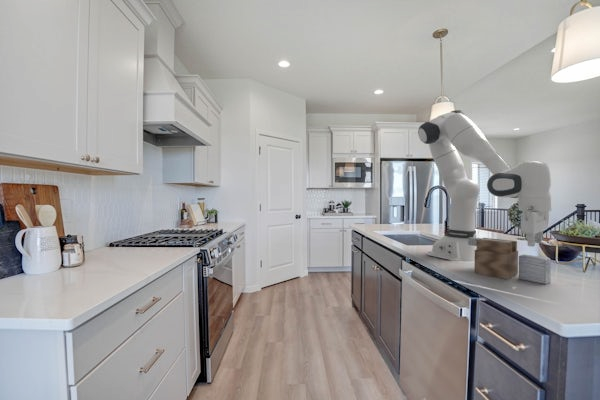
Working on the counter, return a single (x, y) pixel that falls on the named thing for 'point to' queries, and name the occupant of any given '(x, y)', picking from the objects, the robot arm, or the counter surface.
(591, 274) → the counter surface
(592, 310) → the counter surface
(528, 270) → the medicine box
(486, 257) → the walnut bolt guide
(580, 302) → the counter surface
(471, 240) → the grey square bar
